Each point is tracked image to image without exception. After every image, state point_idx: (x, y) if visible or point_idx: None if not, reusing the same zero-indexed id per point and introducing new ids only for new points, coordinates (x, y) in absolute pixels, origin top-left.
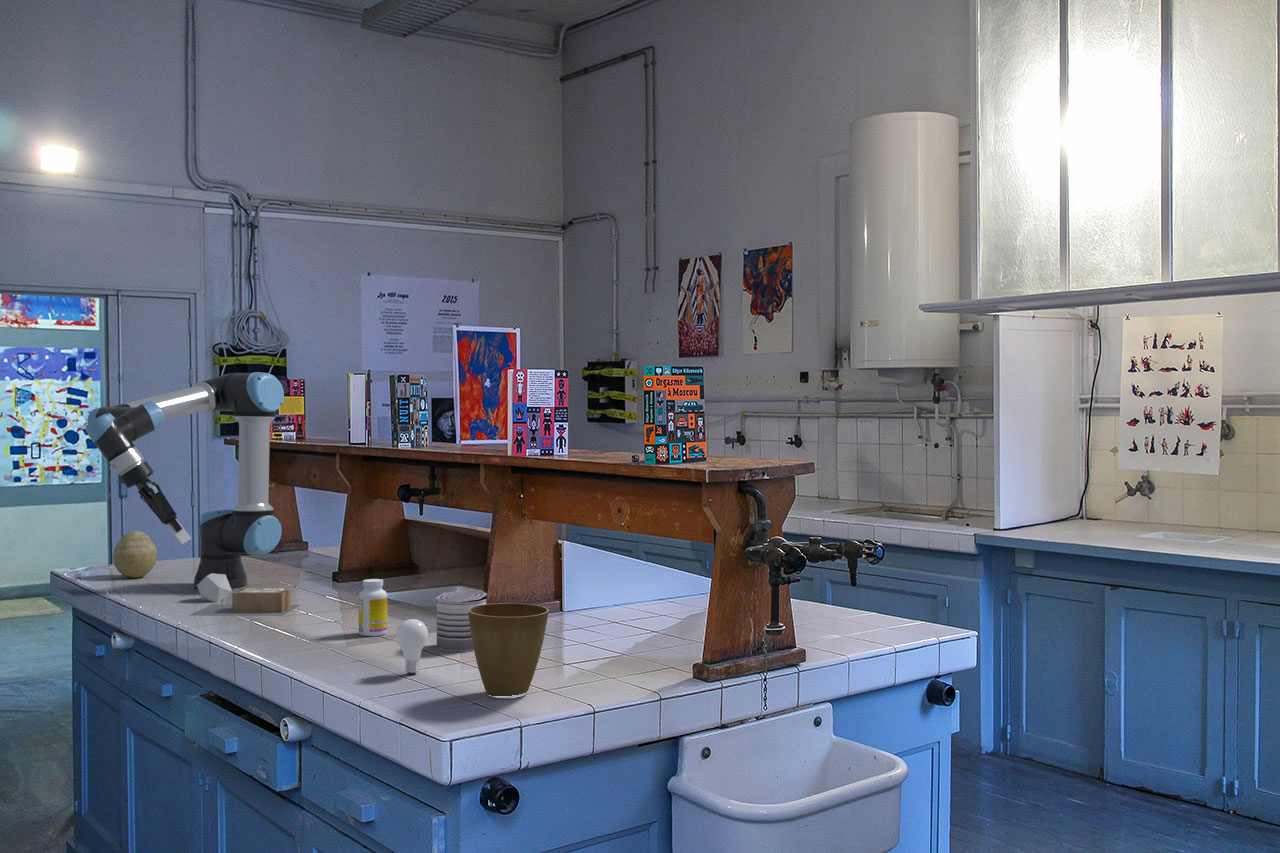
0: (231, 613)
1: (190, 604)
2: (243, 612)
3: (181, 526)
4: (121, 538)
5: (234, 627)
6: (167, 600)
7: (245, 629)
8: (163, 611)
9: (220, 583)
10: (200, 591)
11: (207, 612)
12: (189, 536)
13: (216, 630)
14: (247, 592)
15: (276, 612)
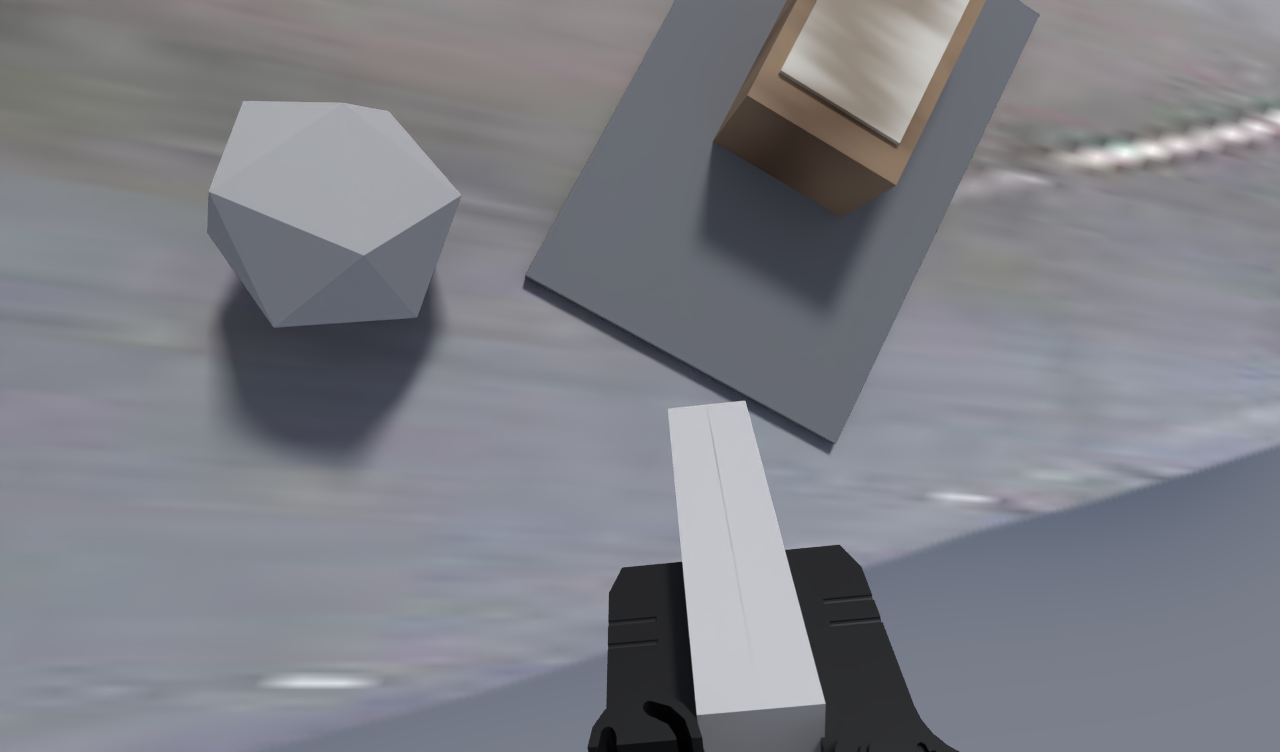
0: (876, 228)
1: (378, 385)
2: None
3: (785, 562)
4: None
5: (1179, 275)
6: (119, 509)
7: (1240, 240)
8: (574, 557)
9: (428, 175)
10: (385, 318)
11: (792, 338)
12: (751, 425)
13: (1215, 360)
14: (919, 98)
15: None
